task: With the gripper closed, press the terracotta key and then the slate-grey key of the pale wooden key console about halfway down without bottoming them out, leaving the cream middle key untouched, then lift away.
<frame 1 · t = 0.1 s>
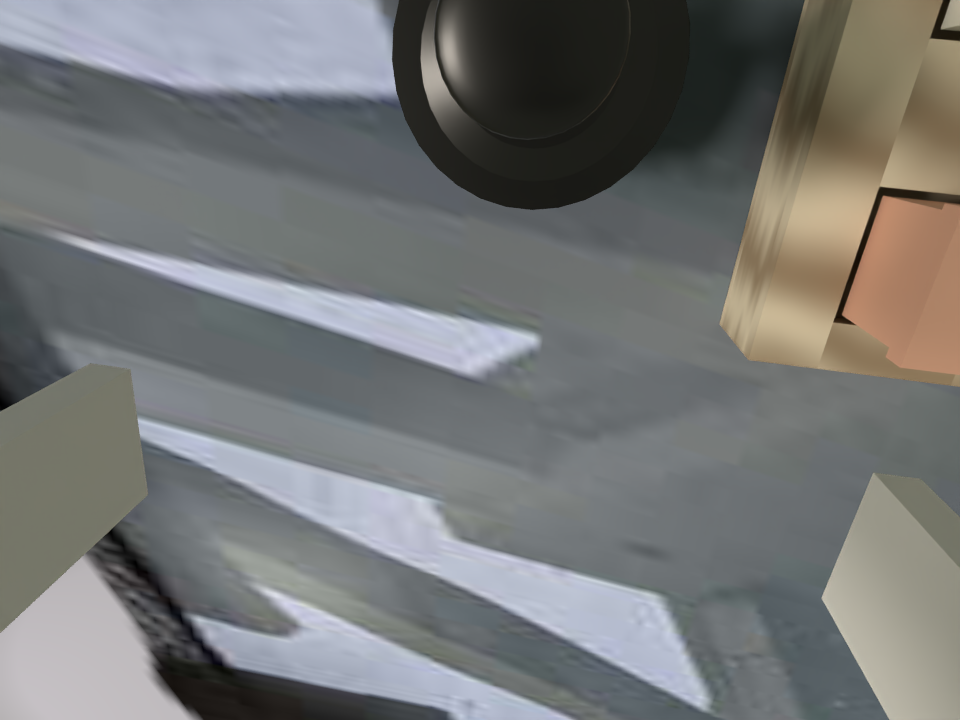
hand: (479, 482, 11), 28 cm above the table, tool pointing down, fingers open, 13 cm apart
french press: (540, 76, 34), on the table
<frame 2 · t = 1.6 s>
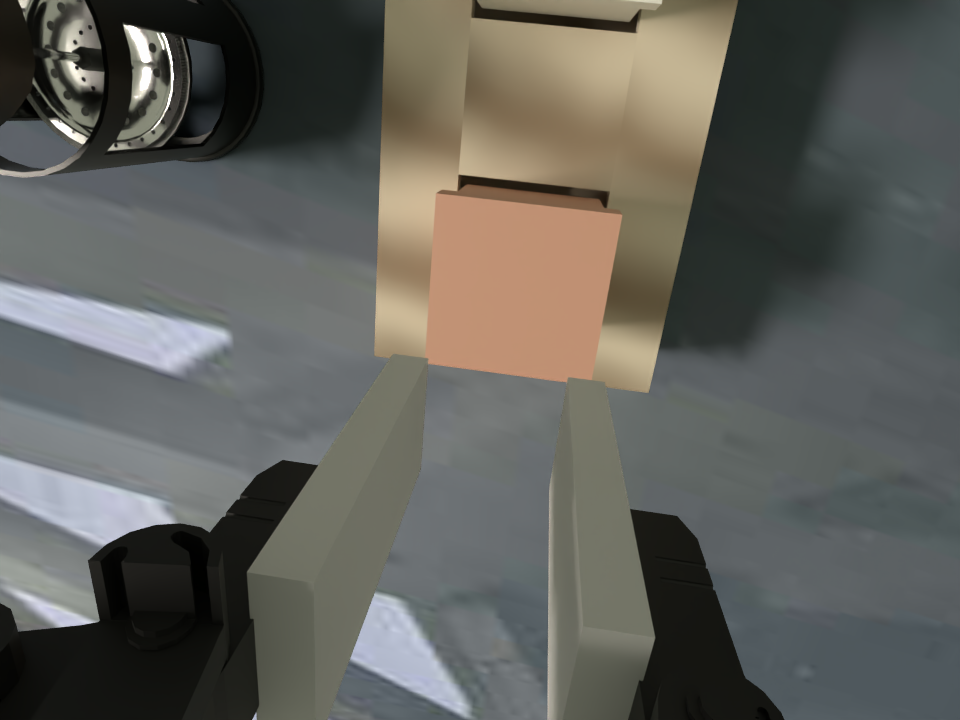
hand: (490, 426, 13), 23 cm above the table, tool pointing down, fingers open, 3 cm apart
french press: (177, 60, 32), on the table
terracotta key: (521, 273, 25), point 9 cm above the table, slide at 0.0 cm
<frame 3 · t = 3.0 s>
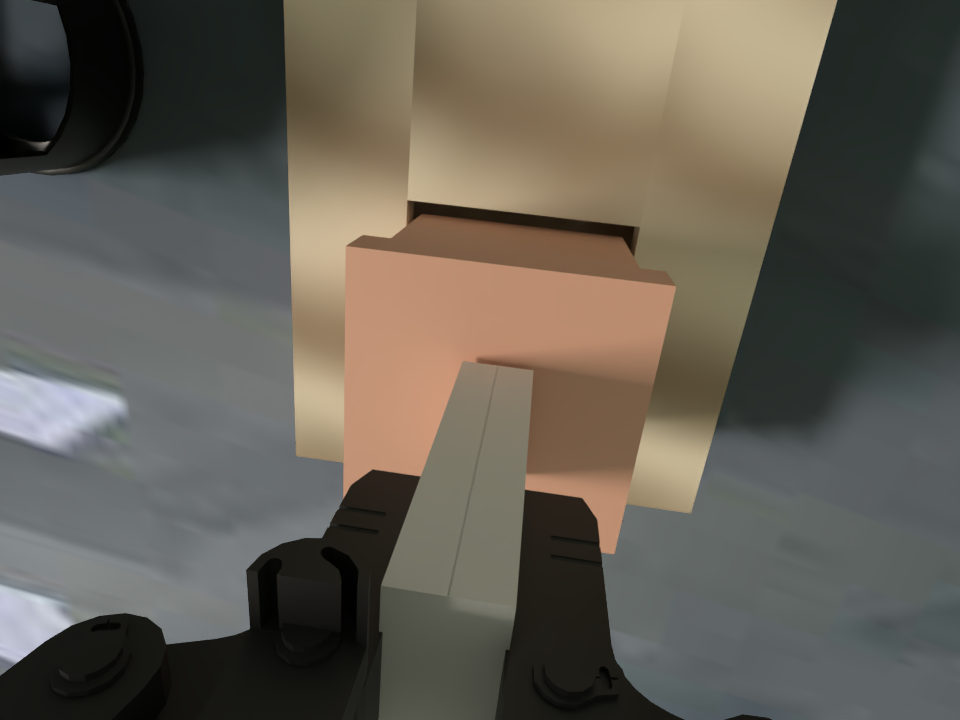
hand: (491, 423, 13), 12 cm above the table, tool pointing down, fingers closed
french press: (23, 33, 23), on the table
terracotta key: (501, 357, 16), point 9 cm above the table, slide at 0.2 cm, touching gripper
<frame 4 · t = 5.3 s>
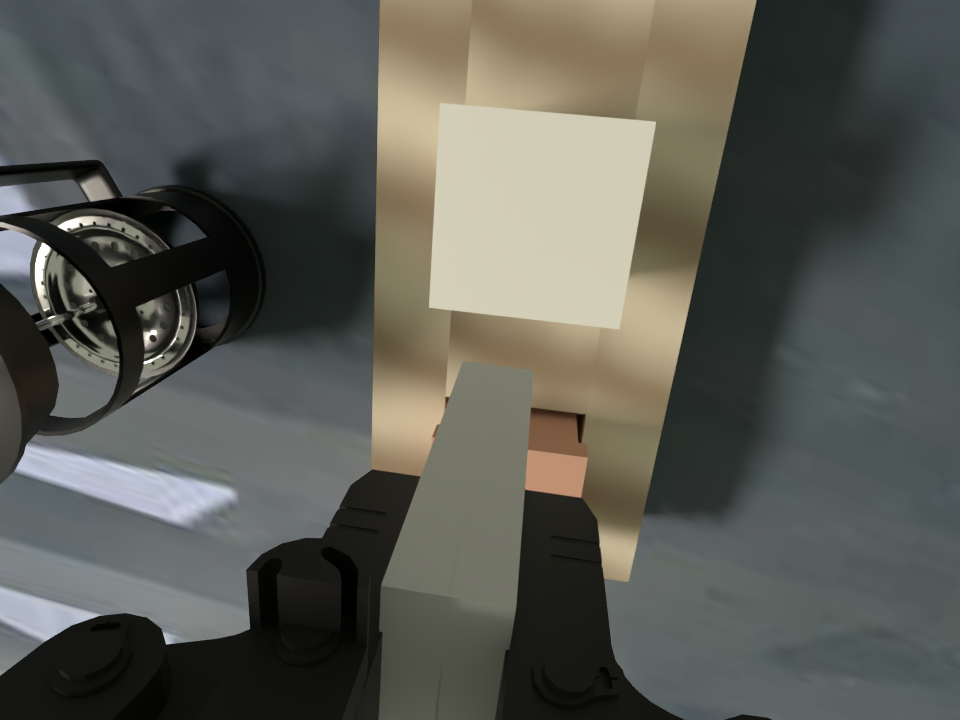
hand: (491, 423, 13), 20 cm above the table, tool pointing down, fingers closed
key console: (542, 187, 31), on the table
french press: (185, 260, 35), on the table
terracotta key: (507, 473, 29), point 7 cm above the table, slide at 2.3 cm
cream key: (536, 209, 22), point 9 cm above the table, slide at 0.0 cm
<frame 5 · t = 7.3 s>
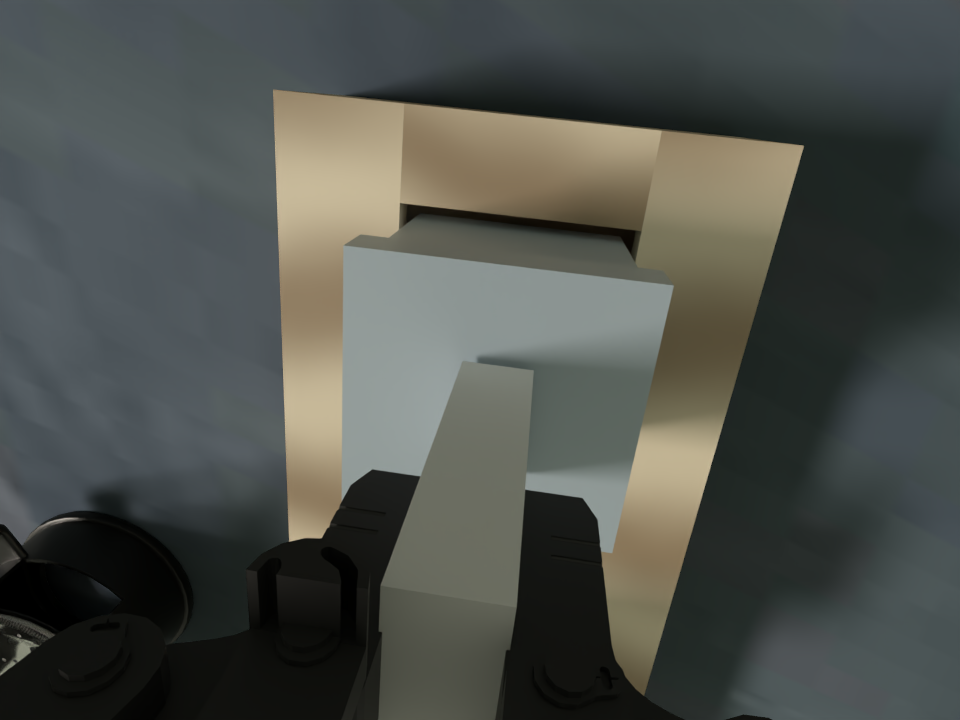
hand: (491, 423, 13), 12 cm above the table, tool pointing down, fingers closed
key console: (483, 542, 29), on the table
french press: (107, 573, 32), on the table
slate key: (500, 357, 16), point 8 cm above the table, slide at 0.9 cm, touching gripper
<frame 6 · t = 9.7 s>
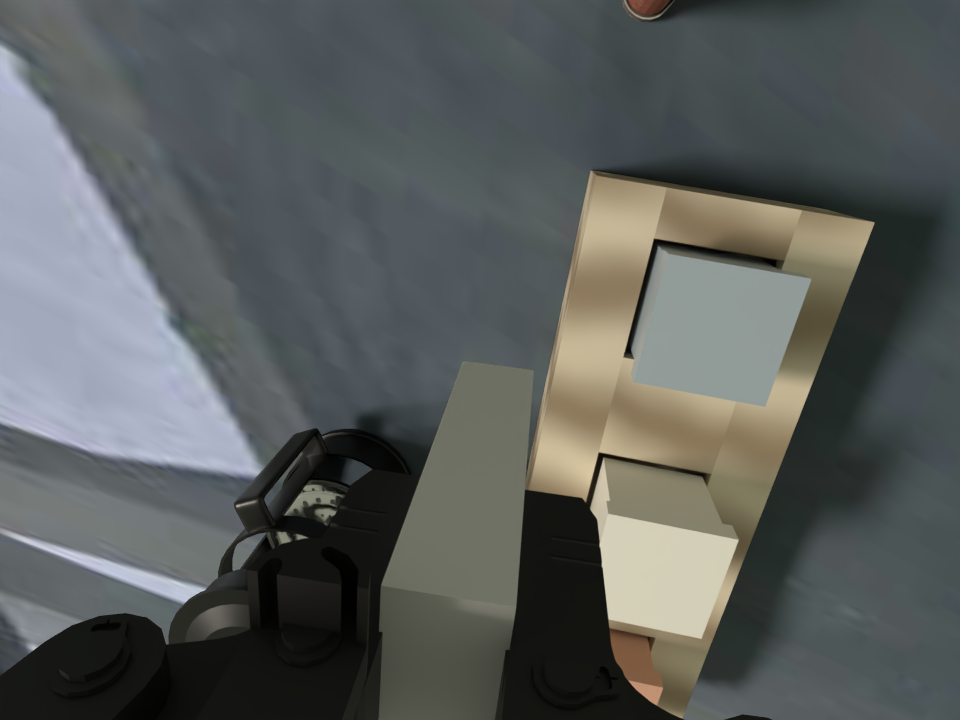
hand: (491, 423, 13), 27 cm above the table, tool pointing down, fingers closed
key console: (629, 461, 43), on the table
french press: (353, 476, 46), on the table
terracotta key: (595, 672, 41), point 7 cm above the table, slide at 2.3 cm
slate key: (703, 314, 32), point 7 cm above the table, slide at 2.3 cm
cream key: (647, 540, 34), point 9 cm above the table, slide at 0.0 cm
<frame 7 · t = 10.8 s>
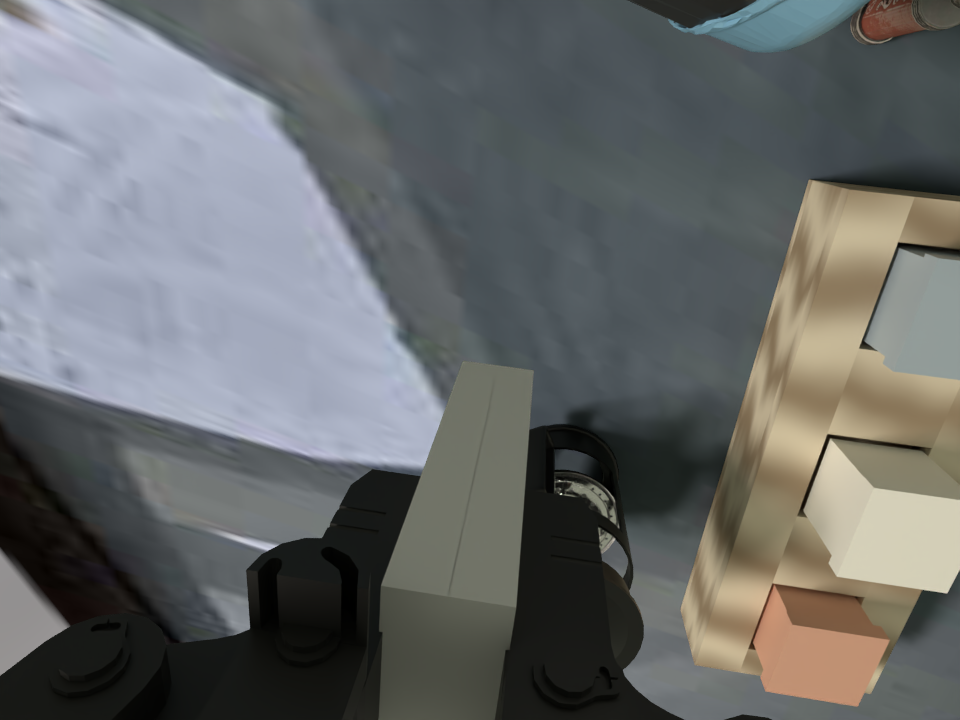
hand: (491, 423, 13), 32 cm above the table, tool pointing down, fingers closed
key console: (825, 440, 47), on the table
french press: (559, 466, 51), on the table
terracotta key: (808, 631, 46), point 7 cm above the table, slide at 2.3 cm
slate key: (942, 307, 36), point 7 cm above the table, slide at 2.3 cm
cream key: (884, 509, 39), point 9 cm above the table, slide at 0.0 cm
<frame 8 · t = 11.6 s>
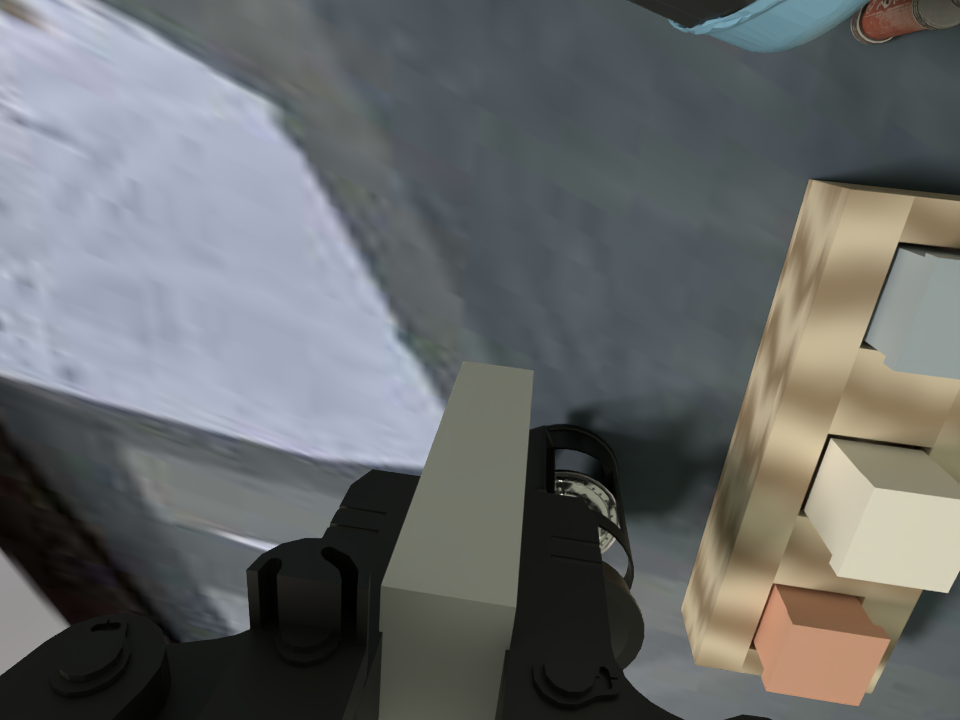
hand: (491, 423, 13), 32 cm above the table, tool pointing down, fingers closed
key console: (826, 439, 47), on the table
french press: (560, 466, 51), on the table
terracotta key: (808, 630, 46), point 7 cm above the table, slide at 2.3 cm
slate key: (942, 307, 36), point 7 cm above the table, slide at 2.3 cm
cream key: (884, 509, 39), point 9 cm above the table, slide at 0.0 cm
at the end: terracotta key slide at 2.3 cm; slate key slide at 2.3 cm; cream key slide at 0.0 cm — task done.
